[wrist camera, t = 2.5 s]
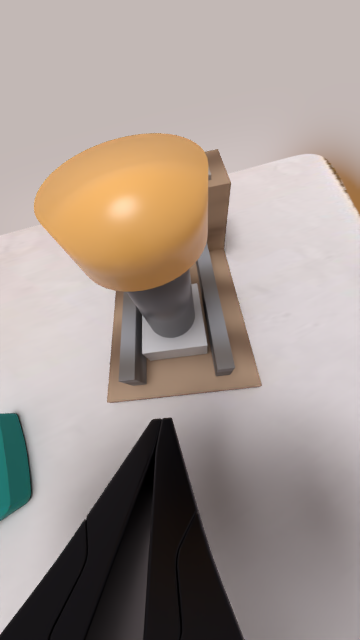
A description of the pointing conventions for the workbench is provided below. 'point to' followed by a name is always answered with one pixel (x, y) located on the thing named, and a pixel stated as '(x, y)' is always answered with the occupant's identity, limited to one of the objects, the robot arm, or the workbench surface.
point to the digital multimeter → (13, 466)
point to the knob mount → (218, 316)
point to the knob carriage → (137, 230)
